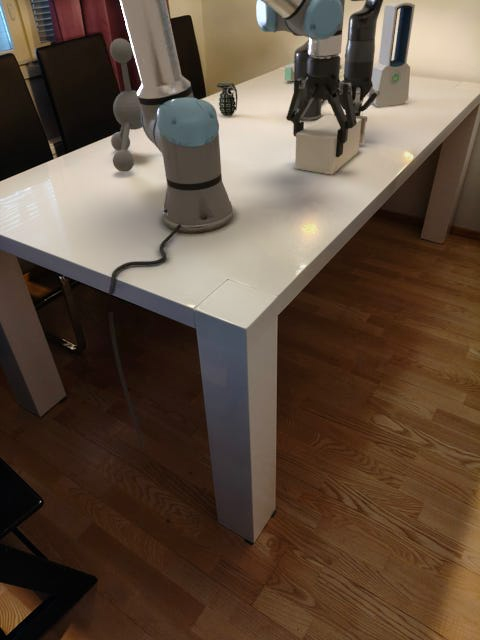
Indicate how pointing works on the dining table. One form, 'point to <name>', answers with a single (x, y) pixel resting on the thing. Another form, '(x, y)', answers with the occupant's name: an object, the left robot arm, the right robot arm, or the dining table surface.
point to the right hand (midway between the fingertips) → (353, 125)
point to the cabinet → (325, 146)
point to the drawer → (362, 127)
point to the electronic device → (395, 73)
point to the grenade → (227, 99)
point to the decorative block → (291, 71)
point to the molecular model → (124, 108)
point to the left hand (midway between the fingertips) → (318, 152)
